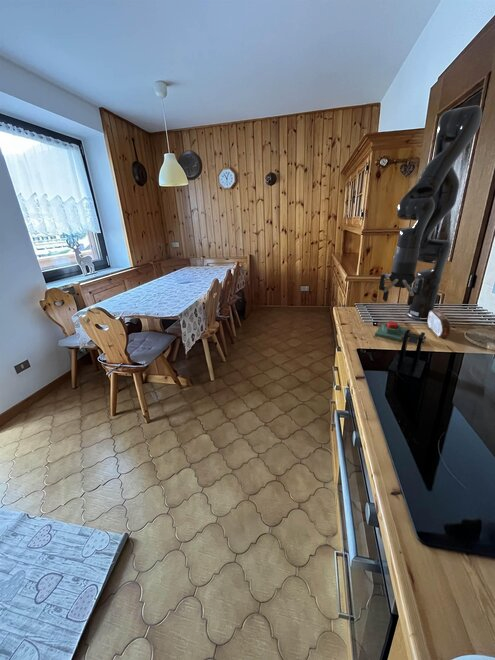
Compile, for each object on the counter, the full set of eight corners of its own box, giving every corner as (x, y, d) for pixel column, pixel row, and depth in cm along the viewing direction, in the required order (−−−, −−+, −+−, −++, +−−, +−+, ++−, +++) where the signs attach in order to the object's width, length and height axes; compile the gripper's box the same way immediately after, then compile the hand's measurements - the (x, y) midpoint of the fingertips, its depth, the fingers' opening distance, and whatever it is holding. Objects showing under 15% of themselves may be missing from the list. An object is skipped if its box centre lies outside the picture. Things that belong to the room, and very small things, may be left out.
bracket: (395, 356, 99) (402, 323, 93) (425, 364, 94) (434, 330, 88) (387, 371, 91) (394, 337, 86) (418, 381, 86) (428, 344, 81)
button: (388, 324, 114) (388, 320, 113) (398, 326, 111) (398, 322, 111) (385, 327, 111) (386, 323, 110) (395, 330, 109) (396, 326, 108)
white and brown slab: (447, 342, 106) (453, 321, 102) (438, 341, 106) (444, 321, 103) (432, 324, 119) (437, 306, 115) (424, 324, 119) (428, 306, 116)
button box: (382, 327, 119) (383, 318, 117) (405, 332, 114) (407, 323, 112) (374, 337, 112) (376, 328, 110) (399, 343, 106) (401, 334, 105)
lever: (408, 338, 99) (410, 331, 98) (424, 342, 96) (426, 335, 96) (403, 340, 88) (405, 333, 88) (421, 344, 85) (423, 337, 85)
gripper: (430, 259, 98) (420, 303, 105) (386, 255, 106) (379, 296, 113) (427, 263, 93) (416, 309, 100) (381, 259, 101) (374, 302, 108)
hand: (397, 302), depth 107 cm, fingers open, 7 cm apart
